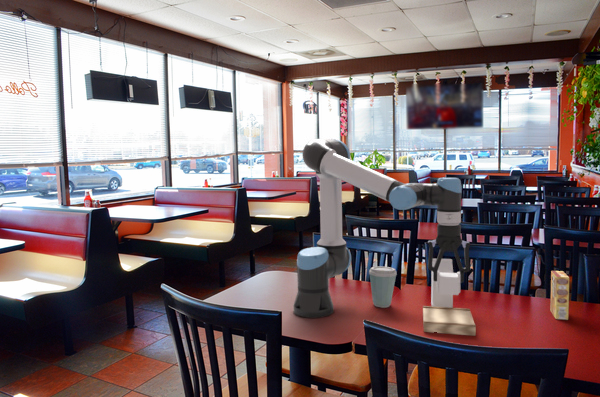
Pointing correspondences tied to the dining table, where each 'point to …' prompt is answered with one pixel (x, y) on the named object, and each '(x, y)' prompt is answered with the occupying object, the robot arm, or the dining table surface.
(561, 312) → the candy box
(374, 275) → the disposable coffee cup
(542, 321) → the dining table surface
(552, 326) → the dining table surface
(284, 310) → the dining table surface
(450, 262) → the milk carton
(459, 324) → the board
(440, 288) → the white cube
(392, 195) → the robot arm
